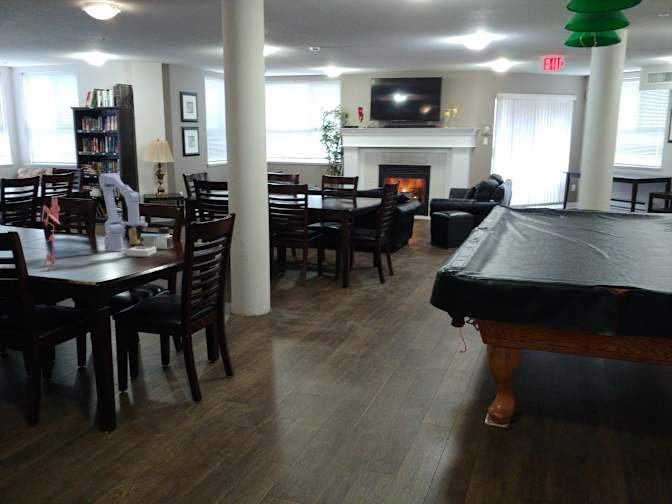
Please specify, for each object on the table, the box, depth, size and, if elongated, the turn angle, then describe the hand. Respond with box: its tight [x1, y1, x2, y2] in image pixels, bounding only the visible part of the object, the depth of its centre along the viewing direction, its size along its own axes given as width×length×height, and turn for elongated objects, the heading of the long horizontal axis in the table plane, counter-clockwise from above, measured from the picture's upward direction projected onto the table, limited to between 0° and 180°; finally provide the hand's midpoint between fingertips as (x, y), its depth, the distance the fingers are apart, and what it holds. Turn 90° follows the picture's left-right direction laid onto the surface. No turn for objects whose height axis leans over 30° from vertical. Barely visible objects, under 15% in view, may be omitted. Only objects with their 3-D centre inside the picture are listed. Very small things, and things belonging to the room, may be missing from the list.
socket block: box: [125, 245, 157, 258], centre depth 326 cm, size 12×12×4 cm
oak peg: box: [128, 227, 141, 245], centre depth 321 cm, size 4×4×8 cm
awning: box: [140, 233, 161, 247], centre depth 335 cm, size 13×7×10 cm, turn 85°
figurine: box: [41, 196, 77, 271], centre depth 291 cm, size 15×26×35 cm, turn 39°
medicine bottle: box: [155, 227, 174, 250], centre depth 345 cm, size 7×7×12 cm
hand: (134, 239), depth 322 cm, fingers closed on oak peg, 4 cm apart
